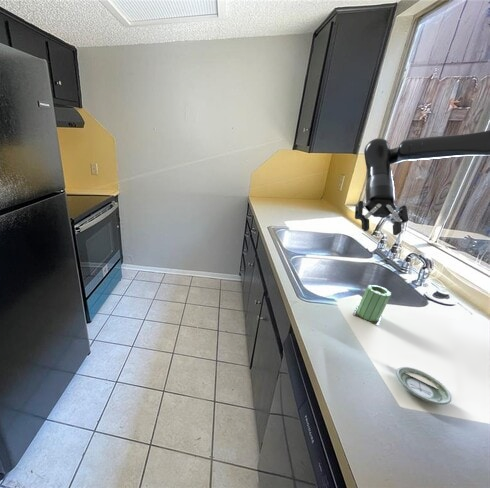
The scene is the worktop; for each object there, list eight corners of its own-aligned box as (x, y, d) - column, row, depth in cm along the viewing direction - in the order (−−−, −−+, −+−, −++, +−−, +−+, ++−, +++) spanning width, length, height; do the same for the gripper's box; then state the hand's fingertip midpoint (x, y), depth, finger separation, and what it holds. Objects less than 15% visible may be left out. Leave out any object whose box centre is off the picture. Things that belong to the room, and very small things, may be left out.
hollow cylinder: (379, 315, 84) (392, 290, 80) (377, 324, 80) (390, 298, 76) (358, 307, 88) (369, 282, 84) (354, 315, 84) (365, 289, 80)
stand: (380, 319, 85) (393, 292, 81) (376, 329, 80) (390, 301, 76) (355, 309, 89) (366, 283, 85) (350, 318, 85) (362, 291, 80)
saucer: (435, 382, 64) (439, 375, 63) (455, 418, 56) (461, 411, 55) (387, 367, 67) (391, 360, 66) (400, 398, 59) (404, 391, 58)
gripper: (361, 182, 88) (362, 224, 82) (411, 186, 84) (415, 230, 79) (350, 194, 94) (351, 233, 89) (396, 198, 91) (399, 240, 86)
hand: (381, 232), depth 84 cm, fingers open, 8 cm apart
